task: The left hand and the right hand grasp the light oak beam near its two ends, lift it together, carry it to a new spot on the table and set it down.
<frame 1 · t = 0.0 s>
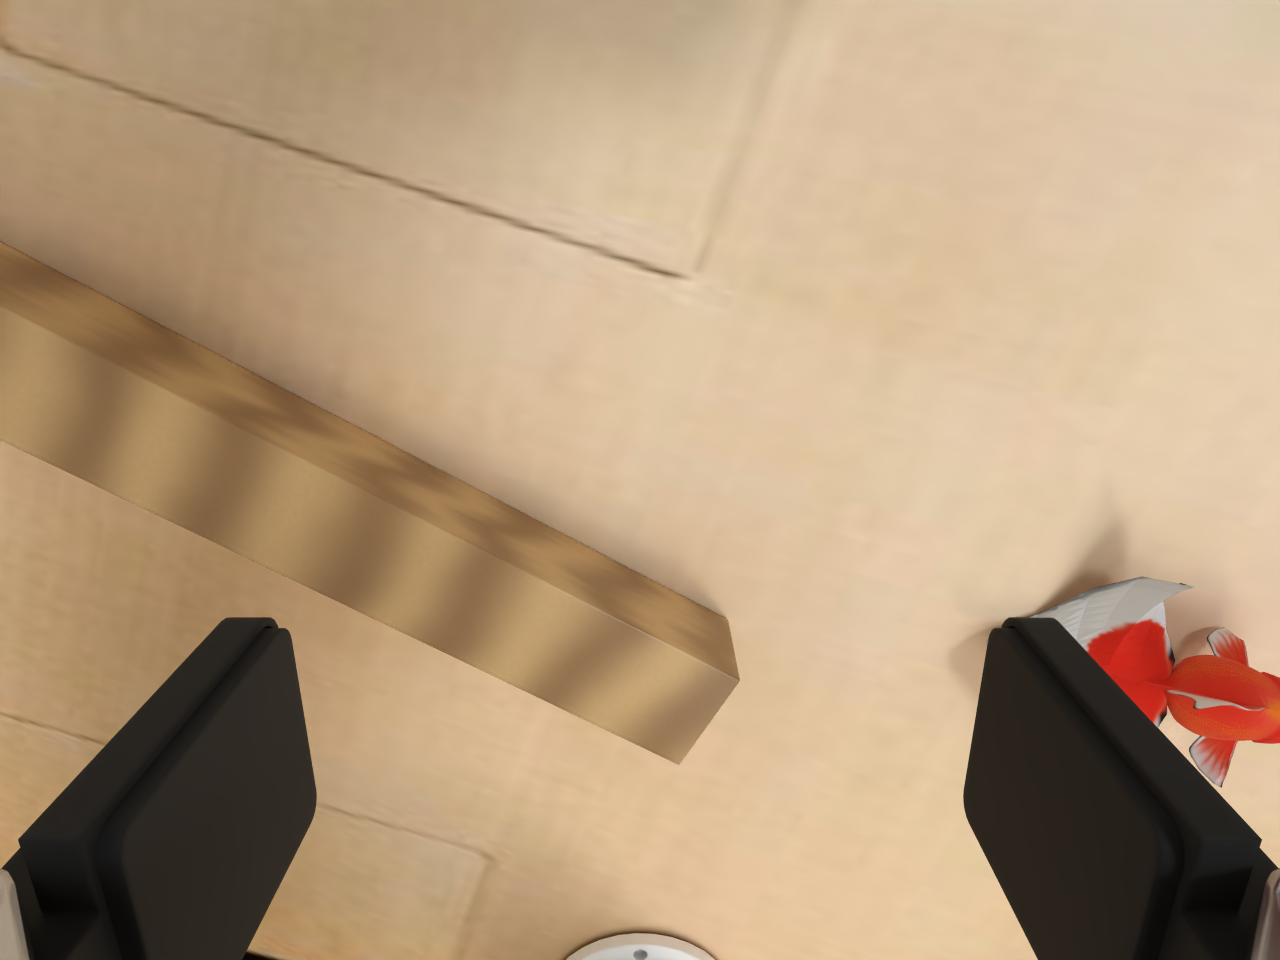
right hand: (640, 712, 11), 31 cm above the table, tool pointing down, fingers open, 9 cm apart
beam: (274, 442, 43), on the table
fish: (1108, 647, 47), on the table
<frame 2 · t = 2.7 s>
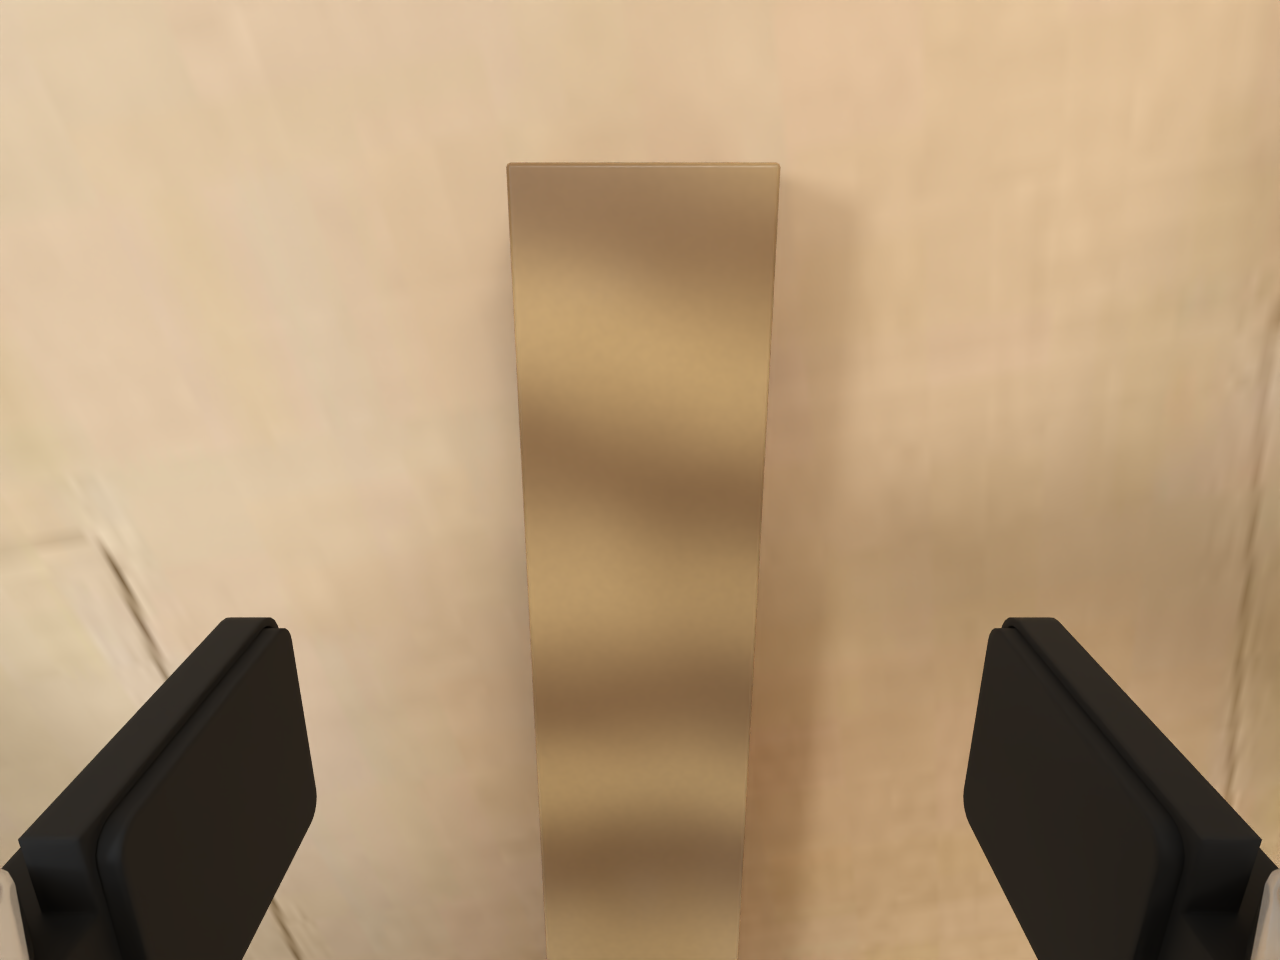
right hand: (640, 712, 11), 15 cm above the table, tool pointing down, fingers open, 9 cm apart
beam: (641, 879, 32), on the table
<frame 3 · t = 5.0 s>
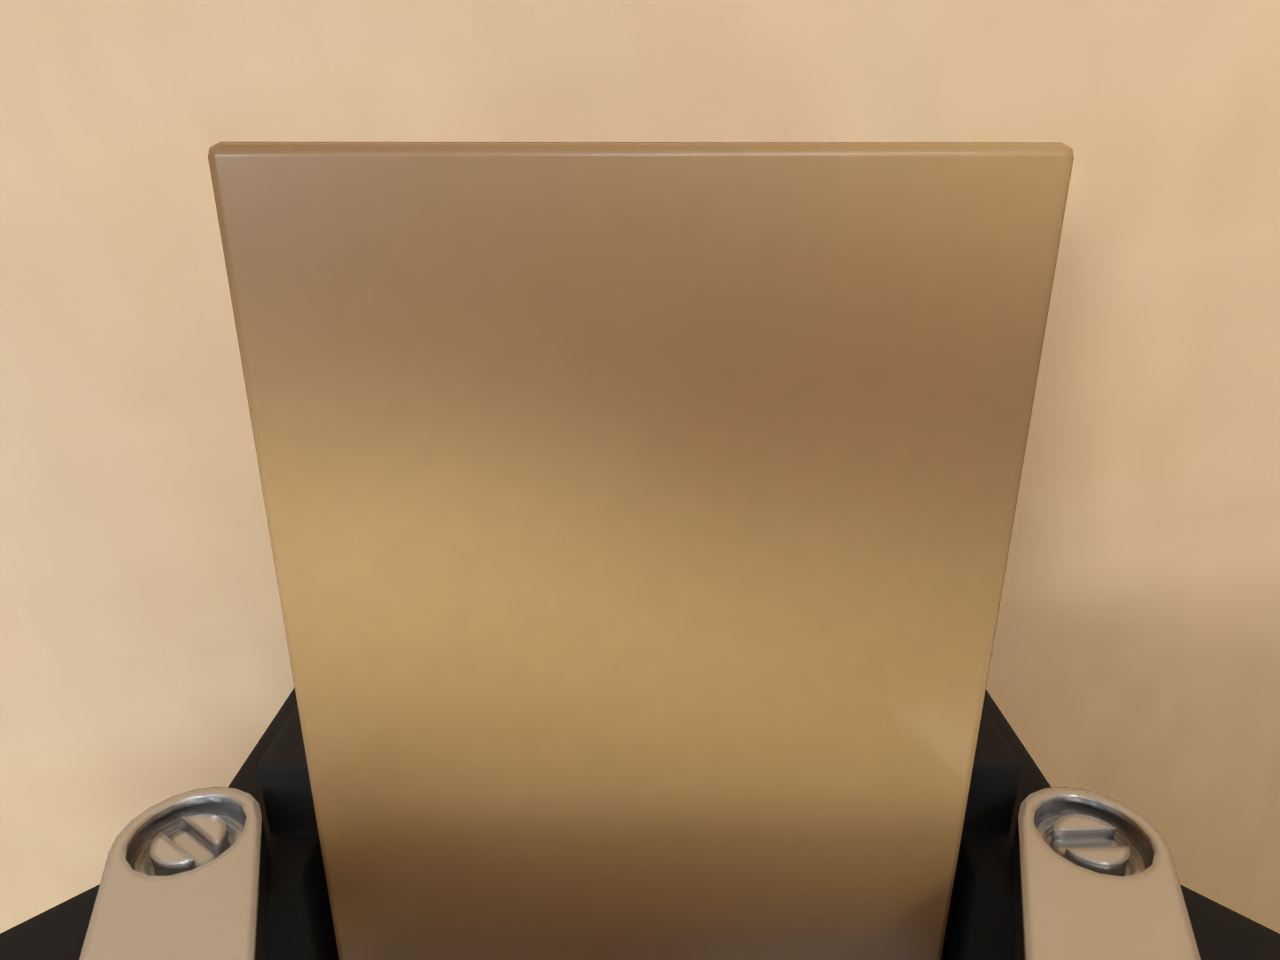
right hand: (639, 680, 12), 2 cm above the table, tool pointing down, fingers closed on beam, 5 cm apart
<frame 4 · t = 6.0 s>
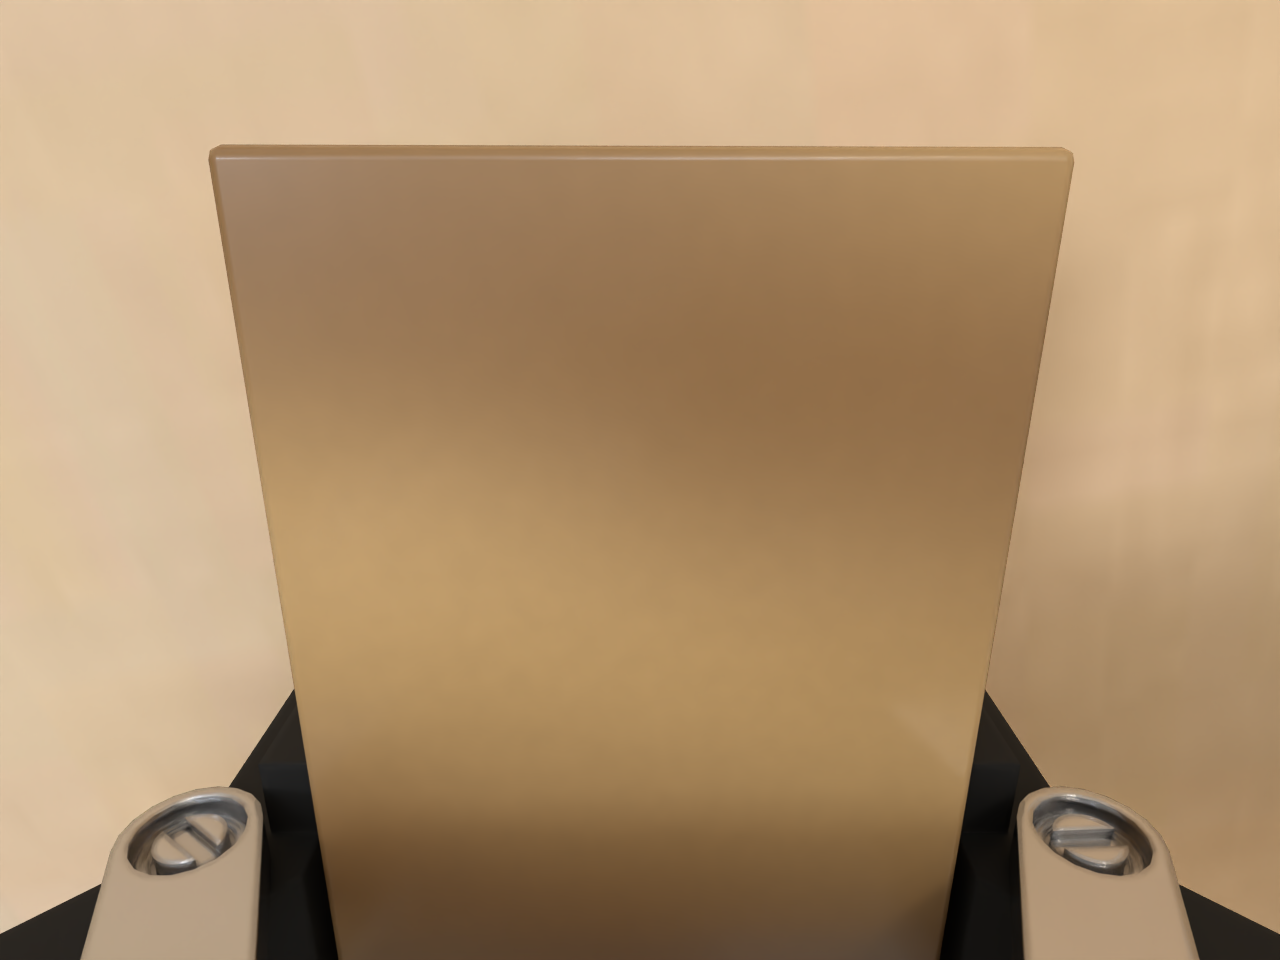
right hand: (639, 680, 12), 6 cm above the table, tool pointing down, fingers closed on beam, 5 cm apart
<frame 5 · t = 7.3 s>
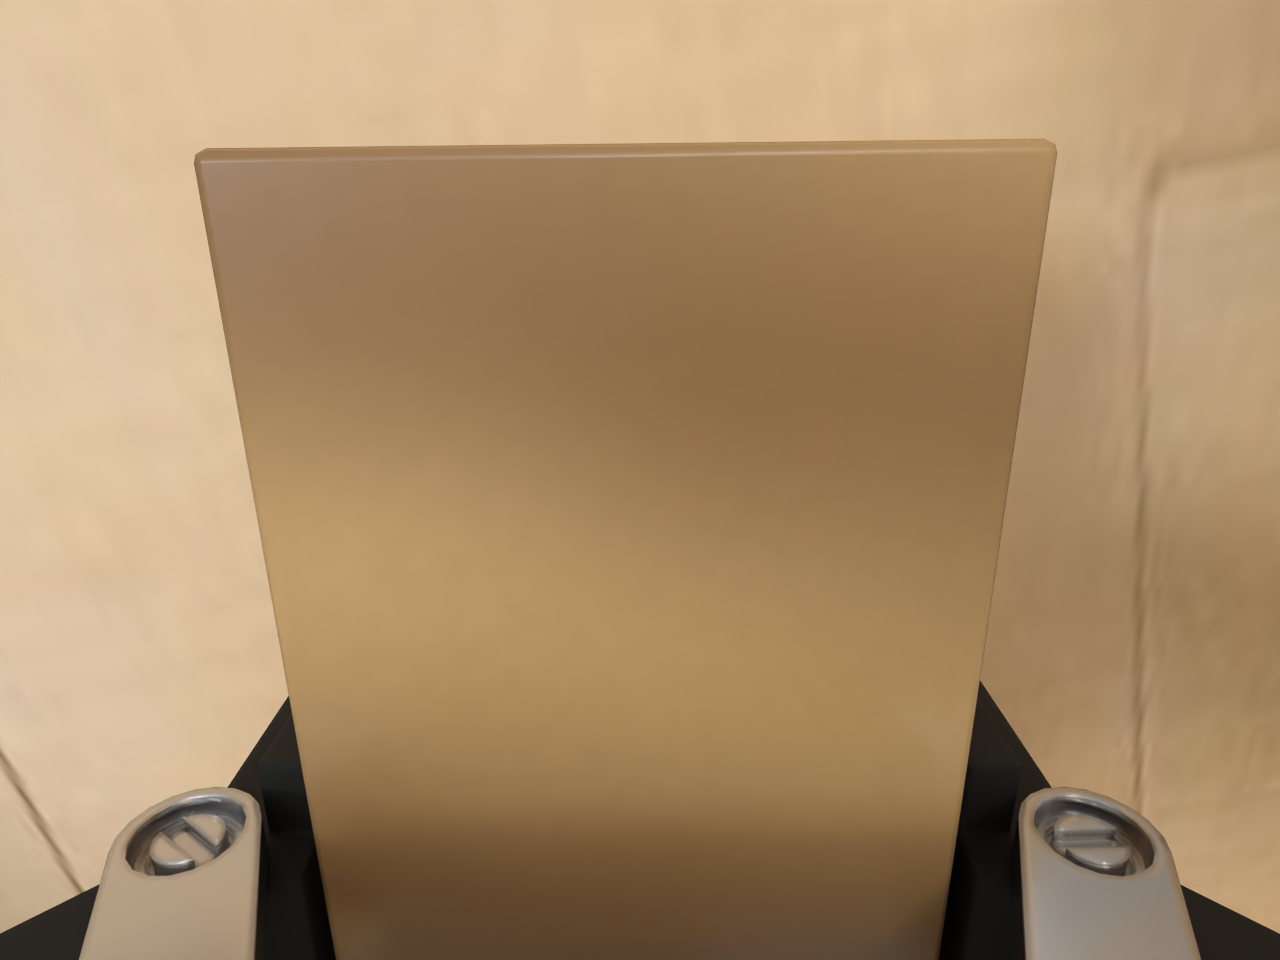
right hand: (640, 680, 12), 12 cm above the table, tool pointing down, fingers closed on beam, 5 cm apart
when the left hand's fingers open (1 cm above the table, at t = 9.6 s): beam stays where it is, on the table.
when the right hand's fingers open (3 cm above the table, at t = 9.7 s): beam stays where it is, on the table.
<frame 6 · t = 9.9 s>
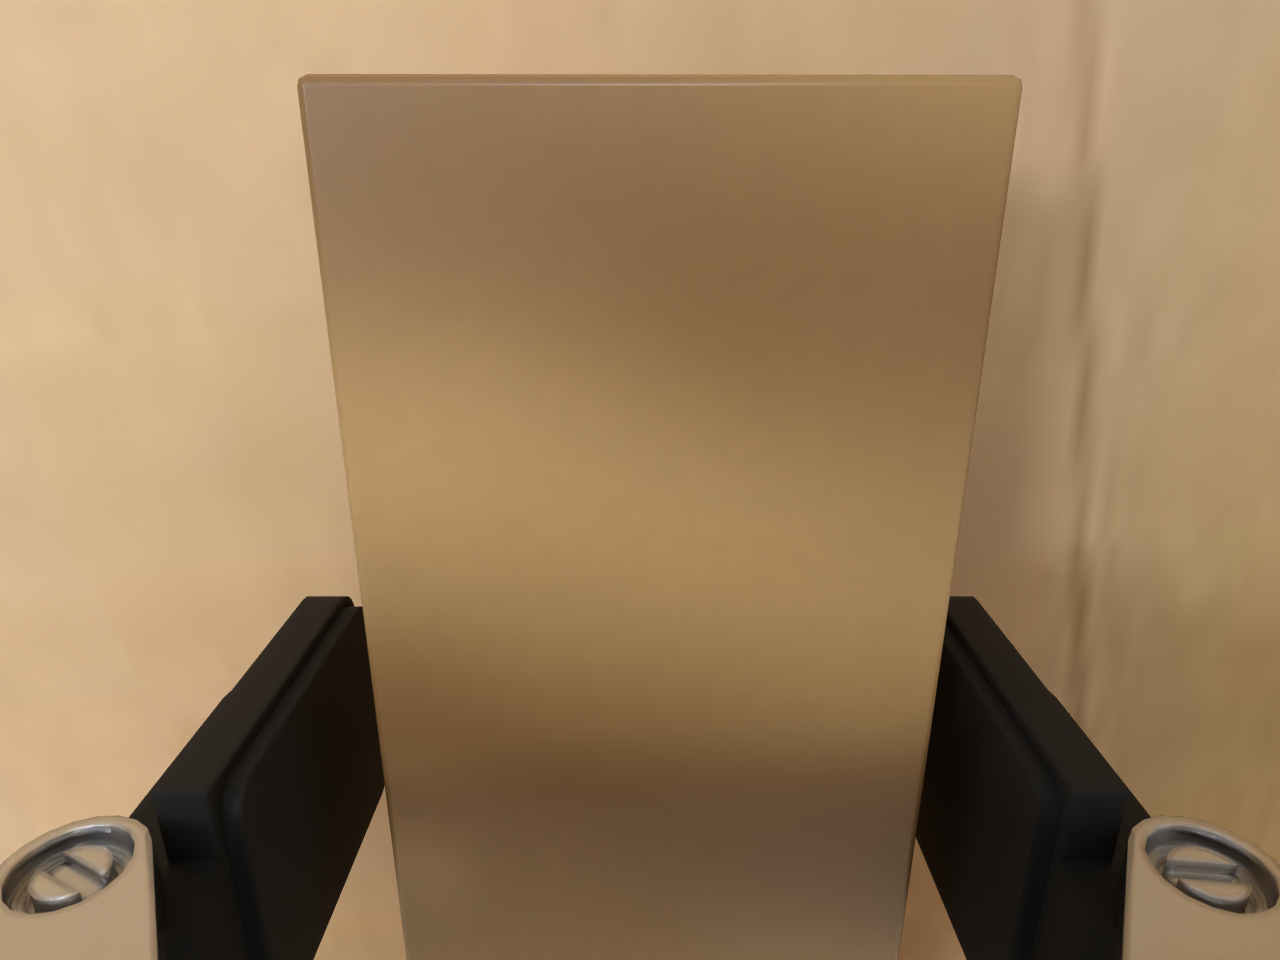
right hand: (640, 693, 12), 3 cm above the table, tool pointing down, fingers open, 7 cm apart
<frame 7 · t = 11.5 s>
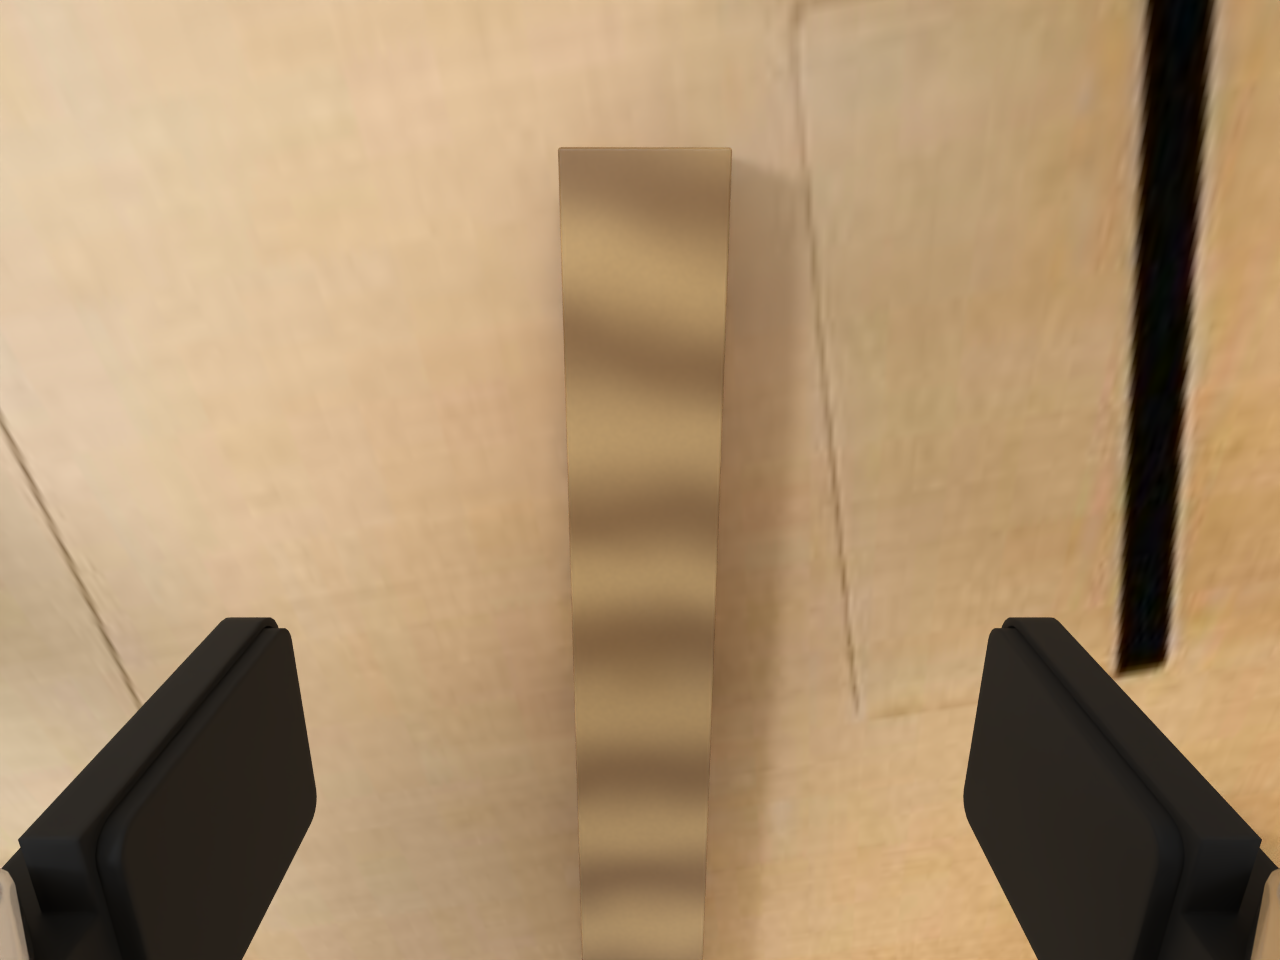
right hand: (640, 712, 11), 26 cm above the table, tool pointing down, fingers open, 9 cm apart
beam: (642, 695, 42), on the table
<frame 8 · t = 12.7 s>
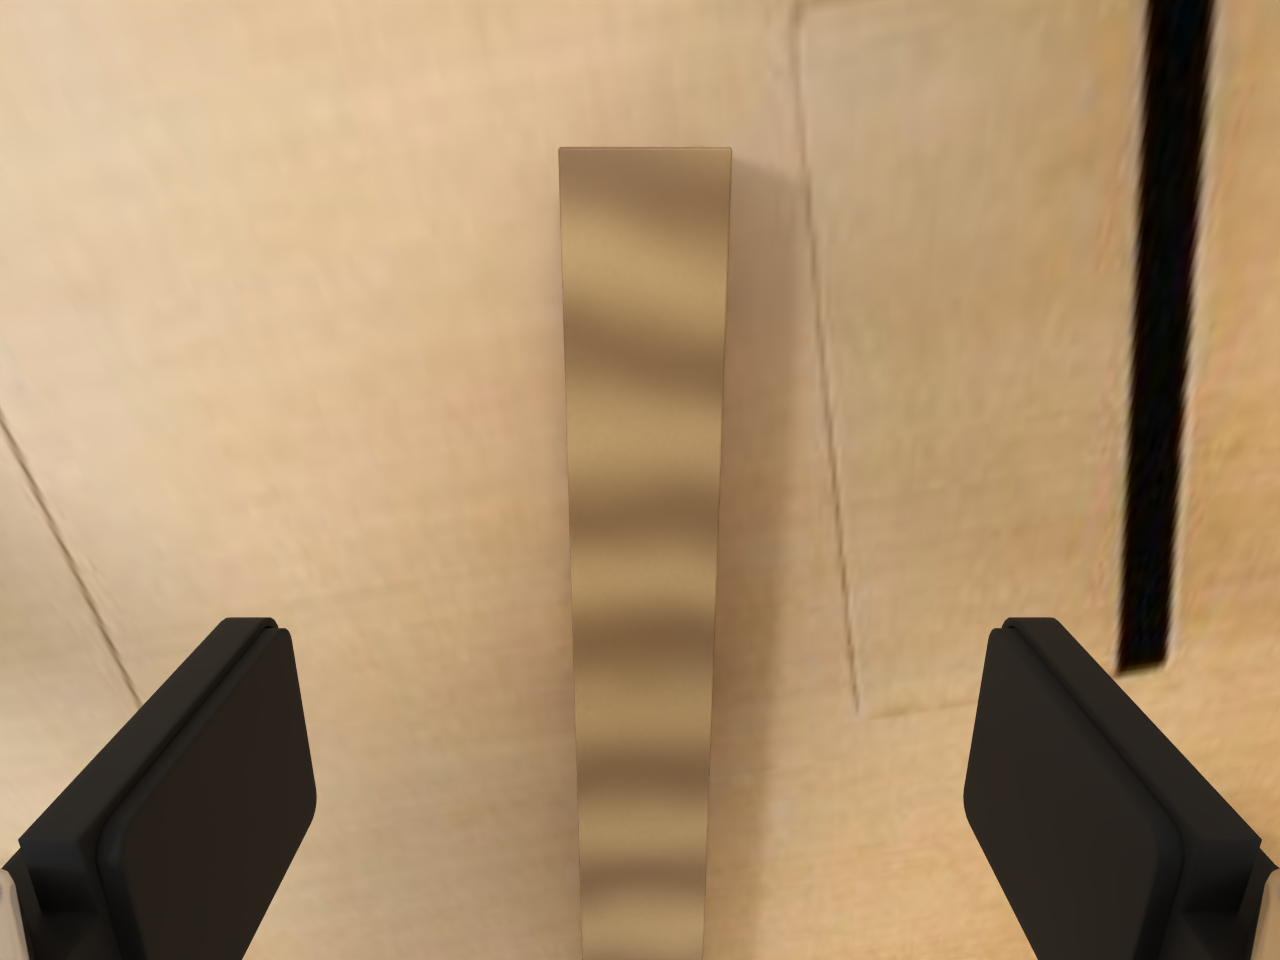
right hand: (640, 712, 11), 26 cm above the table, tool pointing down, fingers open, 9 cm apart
beam: (642, 694, 42), on the table
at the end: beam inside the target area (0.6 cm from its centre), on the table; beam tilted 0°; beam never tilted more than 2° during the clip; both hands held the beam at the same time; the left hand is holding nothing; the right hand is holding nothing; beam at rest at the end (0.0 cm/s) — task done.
